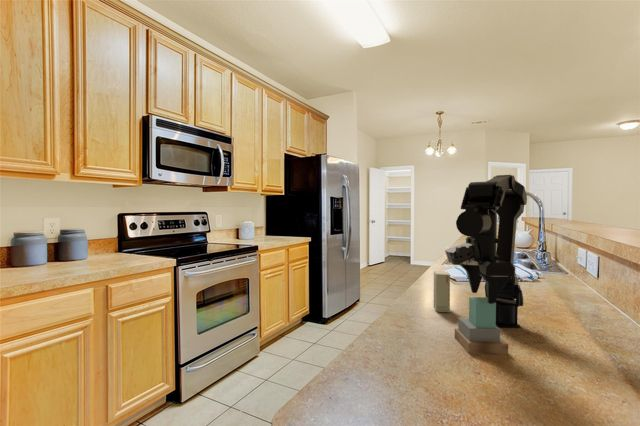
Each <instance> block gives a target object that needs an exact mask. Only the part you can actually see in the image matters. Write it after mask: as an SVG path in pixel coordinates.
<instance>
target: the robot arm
mask: <svg viewBox="0 0 640 426" xmlns="http://www.w3.org/2000/svg"><path fill="white" fill-rule="evenodd" d="M527 202H528V197H527V191H526V188H525V186H524V185H523V184H522V183H520V182H519V181H517V180H516V178H515V175H513V174H501V175H500V174H499V175H495V176H493V177H492V178H490V179H488V180H486V181H473V182H472V181H470V182H469V184H468V185H467V187H465V191H464V193H463V198H462V201H461V206H460V210H463V212H461V213H460V214H458V216H457V219H456V222H455V225H456V229H457V230H458V232H459V233H460V234H461V235H464V236H466V238H465V243H462V244H458V245H454V246H452V247H449V248H447V249H445V250H444V251H445V255H446V257H447V260H448V263H450V264H452V265H454V266H455V265H457V266H458V265H459V266H460V267H461V268H462V269H464V271H465V273H466V276H467V279H468V283H469V286H470V290H471V293H473V294H477V293H478V290H479V288H480V285H481V282H482V279H483V280H484V282H485V284H484V294H485V297H487V298H488V303H489V304H494V302H495V303H496V326H497V327H498V328H521V327H522V326H521V325H520V324H519V323H518V316H519V315H518V314H519V313H518V311H519V310H518V308H519V307H523V306H524V294H523V290H522V289H521V286H520V284H519V281H520V280H519V278H518V276H517V274H516V266H515V265H514V260H515V259H514V257H515V246H516V245H515V244H516V232H517V220H518V219H519V218H520V217H521V215H523V213H524V211H525V206H526V205H527ZM497 226H498V227H497Z"/></svg>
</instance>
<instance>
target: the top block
mask: <svg viewBox="0 0 640 426" xmlns="http://www.w3.org/2000/svg"><path fill="white" fill-rule="evenodd" d="M458 329H459V331H460V332H461V333H462V334H463V335H464V336H465V337H466V338H467V339H468V340H469V341H494V342H500V338H501V329H500V327H497V326H496V328H476V327H475V326H474V325H473V324H472V323H471V322H470V321H469V317H467V318H465V317H458Z"/></svg>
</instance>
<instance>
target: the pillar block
mask: <svg viewBox="0 0 640 426" xmlns="http://www.w3.org/2000/svg"><path fill="white" fill-rule="evenodd" d="M468 300H469V301H468V318H469V321H470V322H471V323H472V324H473V325H474V326H475V327H476V328H496V303H495V302H494V304H489V303H488V298H487V297H486V296H485V297H483V296H481V297H480V296H476V297H475V296H469V298H468Z"/></svg>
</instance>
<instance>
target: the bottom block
mask: <svg viewBox="0 0 640 426" xmlns="http://www.w3.org/2000/svg"><path fill="white" fill-rule="evenodd" d="M454 339H455V340H456V341H457V342H458V343H459V344H460V346H461V347H462V348H463V349H464V350H465V351H466V352H467V353H468V354H473V355H474V354H475V355H477V354H479V355H480V354H481V355H483V354H484V355H509V344H508V342H507V341H505V340H504V339H503V338H502V337H500V342H494V341H469V340H468V339H467V338H466V337H465V336H464V335H463V334H462V333H461V332H460V331H459V328H454Z"/></svg>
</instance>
